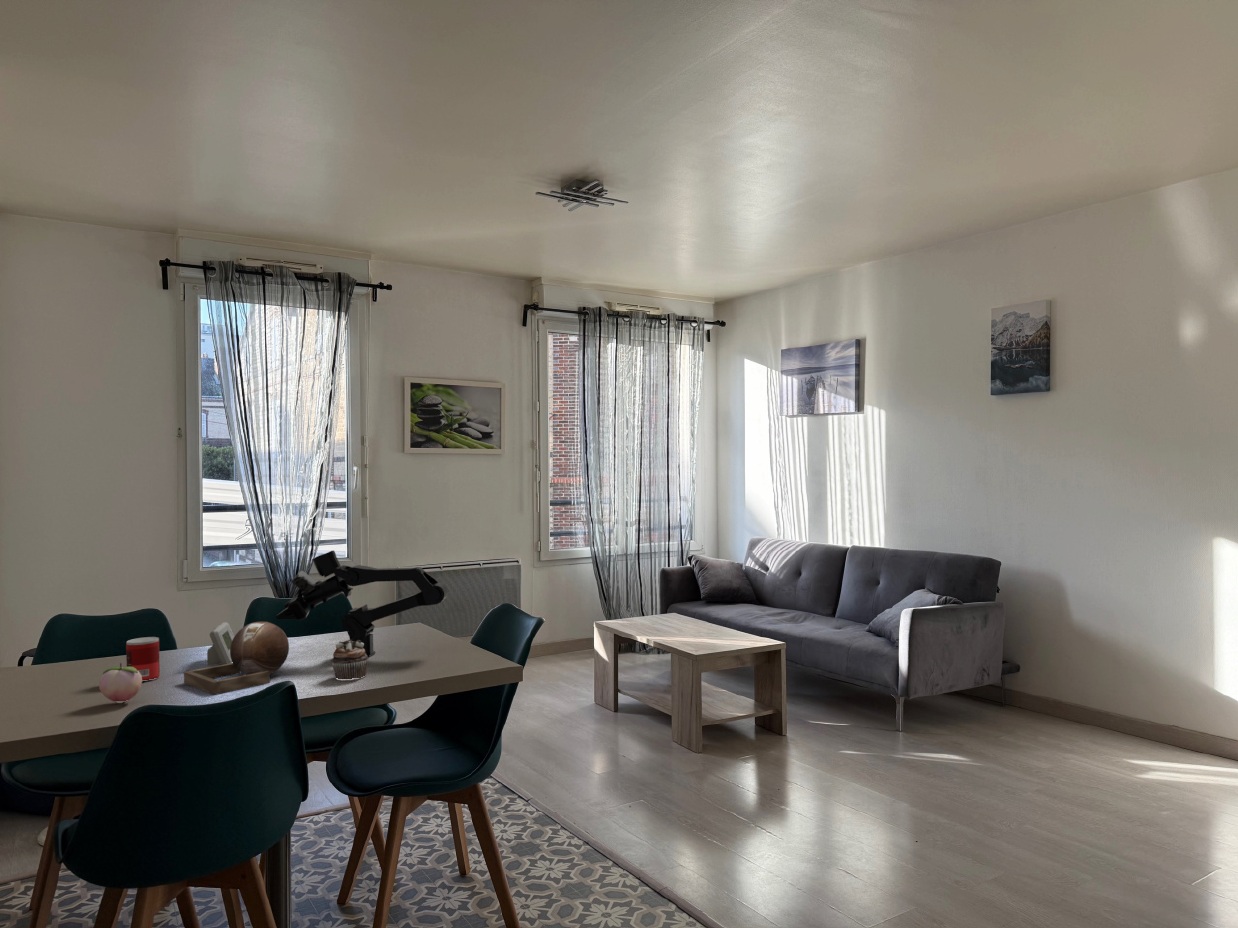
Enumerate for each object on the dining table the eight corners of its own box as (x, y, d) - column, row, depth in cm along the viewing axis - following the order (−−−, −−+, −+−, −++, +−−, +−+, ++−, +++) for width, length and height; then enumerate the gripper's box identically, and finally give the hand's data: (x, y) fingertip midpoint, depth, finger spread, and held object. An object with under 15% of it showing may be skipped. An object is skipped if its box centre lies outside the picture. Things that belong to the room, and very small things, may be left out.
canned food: (166, 676, 239) (165, 637, 239) (141, 684, 232) (140, 643, 232) (145, 675, 242) (144, 636, 242) (120, 682, 234) (119, 641, 234)
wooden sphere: (224, 684, 229) (223, 628, 229) (237, 671, 243) (236, 618, 243) (284, 680, 232) (283, 625, 232) (293, 668, 246) (292, 615, 246)
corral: (237, 672, 242) (237, 661, 242) (269, 682, 230) (269, 671, 230) (184, 683, 232) (183, 671, 232) (214, 694, 219) (214, 682, 219)
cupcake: (324, 680, 231) (323, 643, 231) (348, 672, 240) (347, 636, 240) (353, 682, 227) (352, 645, 227) (376, 674, 236) (375, 638, 236)
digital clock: (228, 666, 250) (227, 630, 250) (196, 667, 250) (195, 631, 250) (250, 654, 266) (249, 620, 267) (220, 655, 266) (220, 621, 266)
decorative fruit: (150, 698, 217) (149, 658, 217) (132, 707, 208) (131, 666, 208) (112, 699, 216) (111, 659, 216) (93, 708, 208) (92, 667, 208)
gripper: (321, 557, 268) (275, 579, 268) (305, 576, 250) (257, 600, 250) (338, 587, 271) (294, 609, 271) (324, 609, 252) (276, 632, 252)
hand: (280, 612), depth 261 cm, fingers open, 9 cm apart
